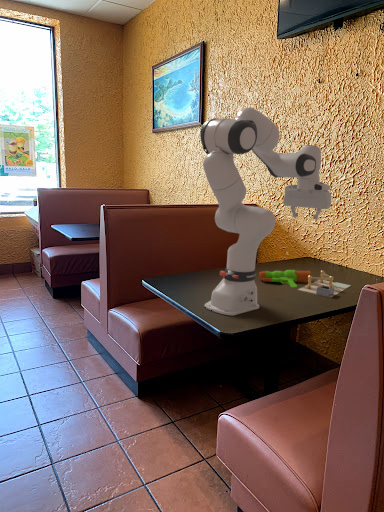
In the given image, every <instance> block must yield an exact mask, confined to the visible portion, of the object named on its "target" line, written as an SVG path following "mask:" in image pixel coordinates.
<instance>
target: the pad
mask: <svg viewBox="0 0 384 512" xmlns="http://www.w3.org/2000/svg"><path fill="white" fill-rule="evenodd" d="M351 285H352V284H351ZM351 285H350V284H345V283H341V282H334V284H332V286H334V287H339V288H343V289H345V290H347V289H349V288H350V287H351ZM346 288H347V289H346Z"/></svg>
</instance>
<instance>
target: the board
mask: <svg viewBox="0 0 384 512" xmlns="http://www.w3.org/2000/svg"><path fill="white" fill-rule="evenodd" d="M334 283H335V282H334V281H333V283H332V284H334ZM321 285H325V286H329V280H323V283H320V280H314V281H312V282H311V289H307V286H308V284H306V285H304V286H302V287H300V288H297V291H301V292H306V293H309V294H314V295H317V296H319V295H318V294H316V292H317V287H319V286H321ZM332 287H334V286H332ZM347 289H348V288H346V289H343V288H339V287H334V294H333V295H332V296H330V297H328V298H333V297H334V296H336V295H337V294H340V293H341V292H343V291H344V290H347ZM320 296H321V297H323V296H322V295H320ZM324 297H325V298H327V297H326V296H324Z"/></svg>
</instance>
